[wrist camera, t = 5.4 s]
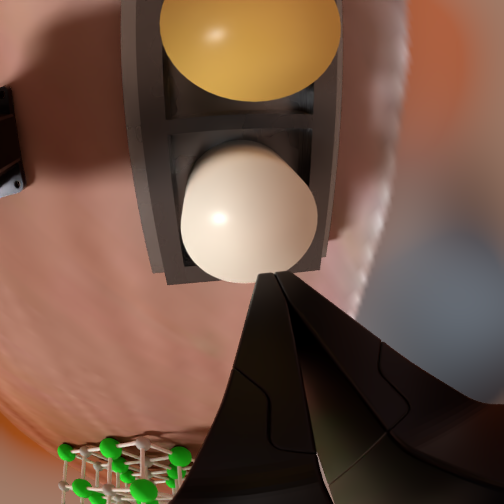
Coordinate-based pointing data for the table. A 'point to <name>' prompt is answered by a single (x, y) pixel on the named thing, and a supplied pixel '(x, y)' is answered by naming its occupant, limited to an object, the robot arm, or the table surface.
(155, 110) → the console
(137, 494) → the molecular structure model
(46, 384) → the table surface
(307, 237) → the ivory button
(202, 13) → the amber button
